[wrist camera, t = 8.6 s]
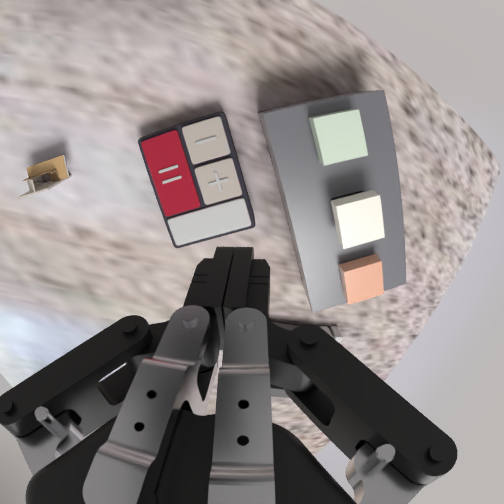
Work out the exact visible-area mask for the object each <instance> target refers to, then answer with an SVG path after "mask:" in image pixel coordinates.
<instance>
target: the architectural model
mask: <svg viewBox="0 0 504 504" xmlns="http://www.w3.org/2000/svg"><path fill="white" fill-rule="evenodd" d="M27 172H28V176H29V178H27V179H25V180H27V181H28V185H29V189H30V191H28V192H27V193H25V194H23V195H21V196H20V197H18V199H20V198H23V197H26V196H29V195H32V194H36V193H39V192H42V191H45V190H48V189H50V188H52V187H54V186H55V185H57V184H59V183H61V182H62V181H64V180H66V179H68V178H70V177H71V176H72V175H69V173H68V169H67V165H66V160H65V156H64V155H62V156H59V157H56V158H53V159H50V160H47V161H44V162H41V163H38V164H36V165H33V166H30V167H28V168H27ZM43 174H49V176H50V180H52V181H49V182H47V181H43V180H42V176H41V175H43ZM25 180H23V181H25ZM43 182H46V183H43Z"/></svg>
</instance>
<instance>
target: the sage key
mask: <svg viewBox="0 0 504 504" xmlns="http://www.w3.org/2000/svg"><path fill="white" fill-rule="evenodd" d="M309 121H310V125H311V129H312V133H313V137H314V141H315V146H316V150H317V154H318V159H319V162H320V163H321V164H323V165H324V166H325V165H329V164H333V163H337V162H342V161H346V160H350V159H355V158H359V157H364V156H368V152H367V146H366V141H365V136H364V131H363V126H362V121H361V117H360V112H359V109H349V110H344V111H338V112H333V113H328V114H324V115H319V116H314V117H310V118H309Z"/></svg>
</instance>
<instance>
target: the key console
mask: <svg viewBox="0 0 504 504" xmlns="http://www.w3.org/2000/svg"><path fill="white" fill-rule="evenodd" d="M349 109H359V112H360V117H361V121H362V126H363V131H364V136H365V141H366V146H367V152H368V156H364V157H359V158H355V159H350V160H346V161H342V162H337V163H333V164H329V165H325V166H324V165H323V164H321V163H320V162H319V159H318V154H317V150H316V146H315V141H314V137H313V133H312V129H311V125H310V121H309V118H310V117H314V116H319V115H324V114H328V113H333V112H338V111H344V110H349ZM258 114H259V117H260V121H261V124H262V128H263V131H264V135H265V138H266V142H267V145H268V149H269V153H270V156H271V160H272V163H273V167H274V171H275V175H276V178H277V182H278V186H279V190H280V193H281V197H282V201H283V205H284V209H285V213H286V217H287V221H288V225H289V229H290V233H291V237H292V241H293V245H294V249H295V253H296V257H297V261H298V265H299V270H300V274H301V278H302V282H303V286H304V289H305V292H306V295H307V298H308V300H309V303H310V306H311V309H312V312H317V311H320V310H324V309H327V308H331V307H334V306H337V305H341V304H344V303H347V301H346V299H345V298H344V294H343V287H342V280H341V273H340V267H339V264H342V263H346V262H349V261H353V260H356V259H359V258H363V257H366V256H369V255H373V254H376V255H377V256H378V257H379V258H380V260H381V261H382V272H383V288H384V291H386V290H389V289H392V288H395V287H398V286H401V285H404V284H406V259H405V237H404V222H403V210H402V199H401V189H400V181H399V172H398V165H397V158H396V151H395V145H394V139H393V133H392V127H391V122H390V116H389V111H388V106H387V101H386V97H385V92H384V90H376V91H359V92H353V93H347V94H341V95H336V96H330V97H325V98H320V99H315V100H310V101H305V102H301V103H296V104H292V105H288V106H283V107H279V108H275V109H271V110H267V111H263V112H259V113H258ZM370 190H374V191H375V192H376V193H378V194H379V195H380V199H381V207H382V215H383V224H384V235H385V237H384V238H381V239H377V240H374V241H371V242H367V243H364V244H360V245H357V246H353V247H350V248H346V249H343V248H342V246H341V245H340V243H339V242H338V237H337V231H336V226H335V220H334V215H333V210H332V204H331V201H332V198H335V197H338V196H342V195H346V194H350V193H354V192H356V193H357V194H359V193H363V192H367V191H370Z"/></svg>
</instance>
